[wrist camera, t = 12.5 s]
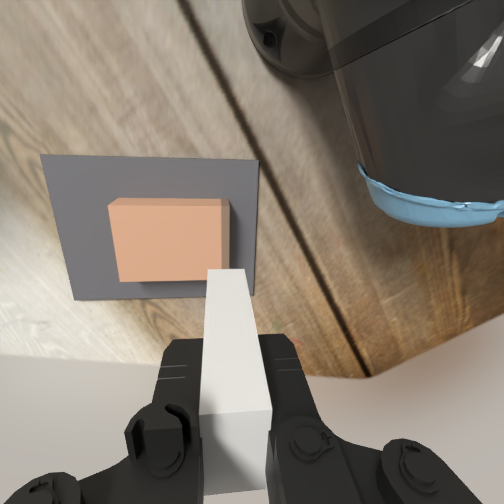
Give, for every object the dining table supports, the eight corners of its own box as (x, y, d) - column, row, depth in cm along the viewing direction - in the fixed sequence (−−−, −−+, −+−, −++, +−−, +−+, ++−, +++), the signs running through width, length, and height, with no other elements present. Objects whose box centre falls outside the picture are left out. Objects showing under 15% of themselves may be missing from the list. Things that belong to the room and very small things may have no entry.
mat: (42, 154, 35) (39, 154, 34) (258, 160, 38) (258, 160, 37) (76, 298, 42) (74, 300, 42) (252, 293, 45) (253, 295, 45)
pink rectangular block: (107, 205, 33) (229, 206, 35) (118, 197, 37) (228, 198, 39) (119, 282, 37) (229, 279, 39) (128, 268, 41) (228, 266, 42)
